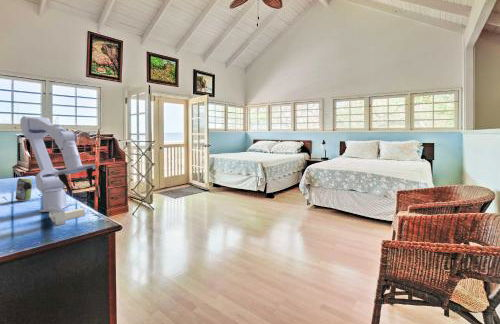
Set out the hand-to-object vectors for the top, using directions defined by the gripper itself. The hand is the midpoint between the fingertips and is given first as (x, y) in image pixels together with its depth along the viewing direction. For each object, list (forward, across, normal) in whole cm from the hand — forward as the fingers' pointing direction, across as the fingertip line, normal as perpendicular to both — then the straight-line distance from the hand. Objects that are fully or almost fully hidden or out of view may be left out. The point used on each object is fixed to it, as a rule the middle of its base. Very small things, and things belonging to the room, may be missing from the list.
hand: (81, 189), depth 111 cm
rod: (+10, -7, +6) cm, 13 cm away
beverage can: (-10, -23, +51) cm, 57 cm away
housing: (+9, -11, +5) cm, 15 cm away
